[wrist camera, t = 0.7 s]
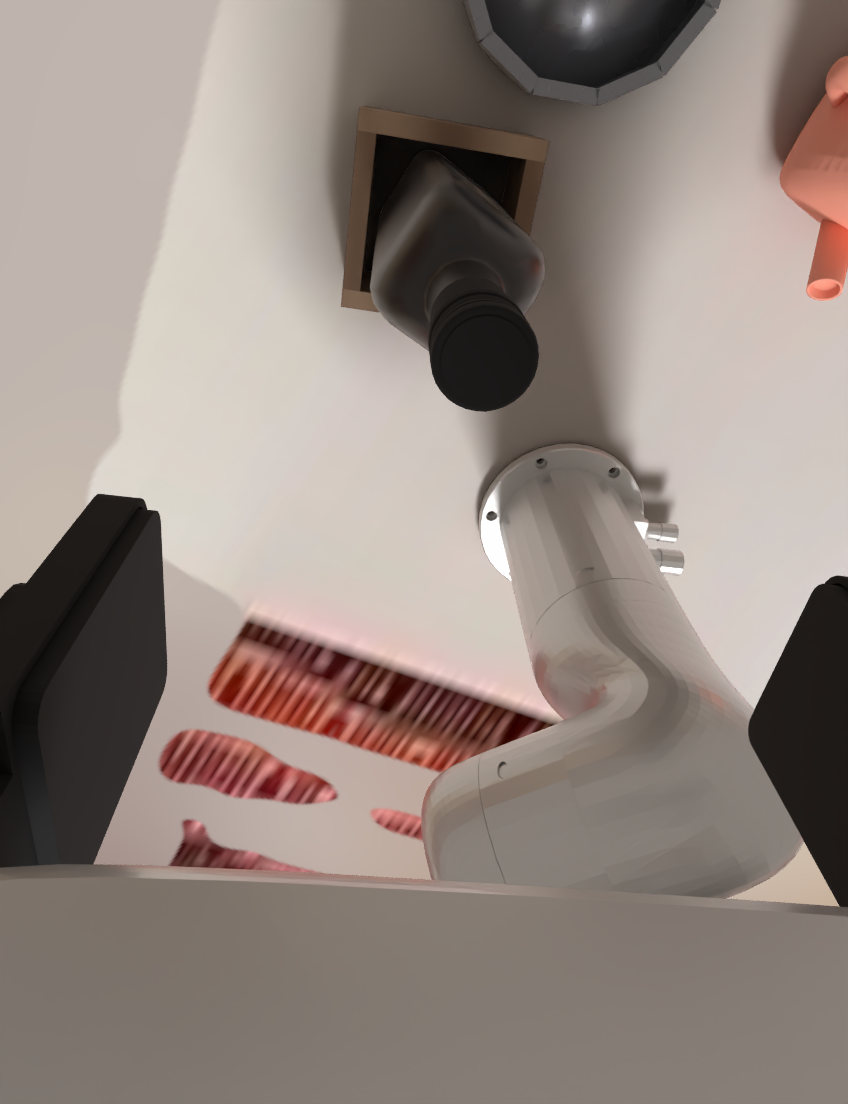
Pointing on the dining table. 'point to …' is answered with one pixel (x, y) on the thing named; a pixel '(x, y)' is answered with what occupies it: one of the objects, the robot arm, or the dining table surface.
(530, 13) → the serving bowl
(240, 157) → the dining table surface
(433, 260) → the wine bottle
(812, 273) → the teapot
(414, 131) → the open square wooden box
